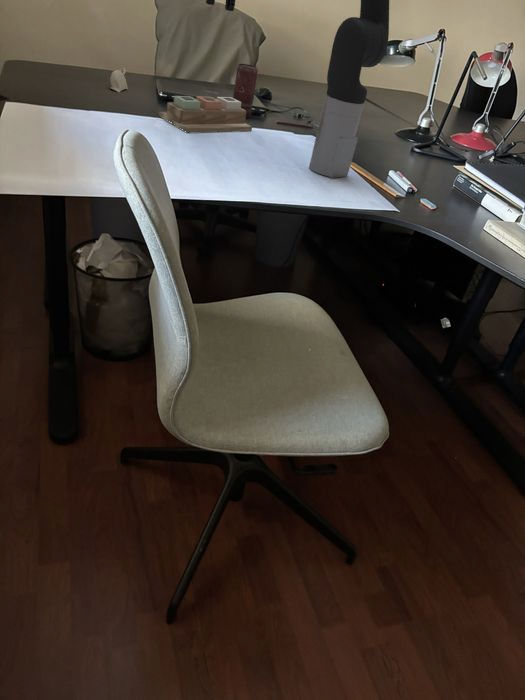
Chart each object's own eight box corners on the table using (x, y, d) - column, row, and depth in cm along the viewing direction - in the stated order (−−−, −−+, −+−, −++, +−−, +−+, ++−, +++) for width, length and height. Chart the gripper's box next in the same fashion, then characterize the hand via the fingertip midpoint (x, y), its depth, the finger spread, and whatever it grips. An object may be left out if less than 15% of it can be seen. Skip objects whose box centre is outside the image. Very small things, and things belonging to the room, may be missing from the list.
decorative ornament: (106, 89, 156) (106, 70, 153) (119, 85, 163) (119, 66, 159) (118, 92, 156) (118, 73, 152) (131, 88, 162) (131, 70, 159)
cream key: (240, 111, 148) (241, 101, 146) (226, 111, 145) (227, 101, 143) (229, 106, 151) (231, 96, 149) (215, 106, 148) (217, 96, 146)
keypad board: (251, 131, 149) (254, 114, 146) (186, 133, 135) (188, 114, 133) (223, 115, 156) (225, 100, 154) (158, 116, 143) (159, 98, 140)
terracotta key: (220, 111, 144) (221, 101, 142) (205, 111, 141) (206, 100, 139) (210, 106, 146) (211, 95, 145) (195, 106, 143) (196, 95, 142)
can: (248, 120, 158) (256, 69, 149) (228, 115, 158) (235, 64, 150) (253, 116, 163) (261, 67, 154) (233, 111, 163) (240, 62, 155)
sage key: (199, 111, 139) (200, 100, 138) (183, 111, 137) (184, 100, 135) (189, 106, 142) (190, 95, 141) (173, 105, 139) (174, 95, 138)
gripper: (260, -69, 118) (248, 14, 128) (223, -76, 126) (215, 4, 136) (233, -76, 114) (223, 11, 123) (197, -82, 122) (191, 0, 131)
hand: (219, 7), depth 129 cm, fingers open, 8 cm apart
